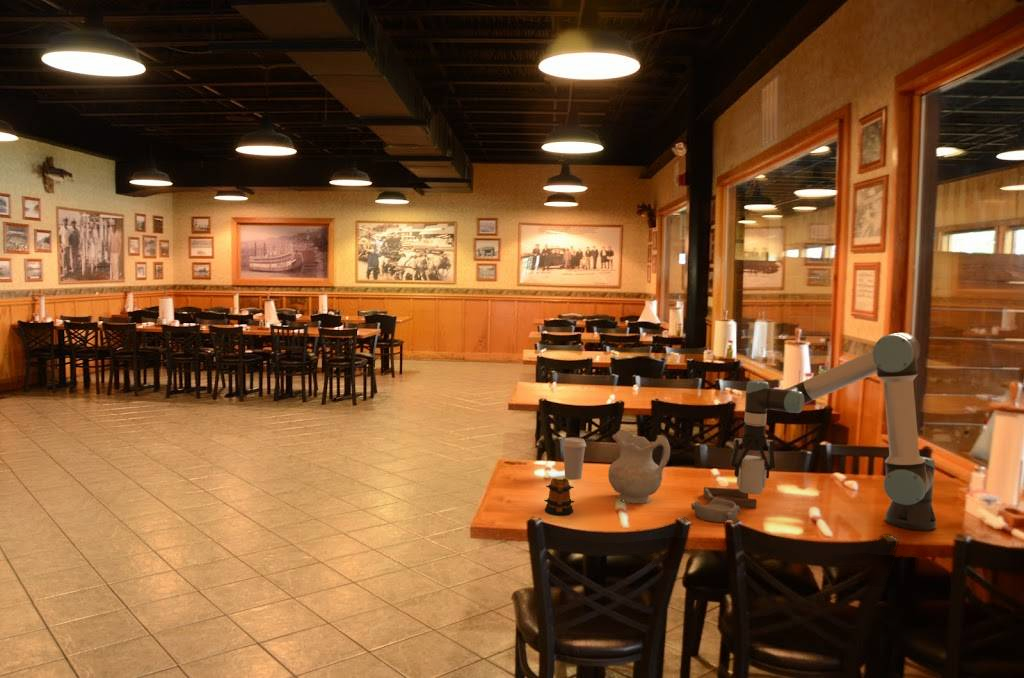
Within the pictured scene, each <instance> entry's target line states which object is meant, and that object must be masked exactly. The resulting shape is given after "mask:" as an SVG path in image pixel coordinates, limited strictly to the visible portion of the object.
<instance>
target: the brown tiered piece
mask: <svg viewBox="0 0 1024 678" xmlns="http://www.w3.org/2000/svg"><path fill="white" fill-rule="evenodd" d="M545 487H546V488H548V489H549V493H548V497H547V499H544V502H546V505H545V507H544V512H545V514H548V515H550V516H556V517H565V516H567V517H568V516H571V515H573V514H574V508H573V506H572V503H575V501H574V500H572V499H571V492H570V491H571V490H572V489H574V488H575V487H574V486H571V485H570V481H569V479H568V478H562V479H561V478H560V479H558V478H555V477H553V478H551V481H550V484H548V485H545Z"/></svg>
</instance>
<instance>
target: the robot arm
mask: <svg viewBox="0 0 1024 678" xmlns="http://www.w3.org/2000/svg"><path fill="white" fill-rule="evenodd" d="M920 354H921V345H920V343H919V341H918V340H917V339H916V338H915V336H913V335H911V334H910V333H907V332H894V333H890V334H886V335H884V336H882V337H880V338H878V340H877V342H875V344H874V346H872V347H871V349H870V351H868V352H865V353H863V354H861V355H858V356H857V357H854V358H851V359H850V360H848V361H846V362H844V363H841V364H839V365H836V366H834V367H832V368H831V369H830V368H829V369H828V370H826V371H824V372H821V373H819V374H817V375H814V376H813V377H811V378H808V379H806V380H804V381H802V382H799V383H797V384H795V385H793V386H791V387H787V388H784V389H783V388H781V389H779V388H772V387H770V385H769V382H768V381H764V380H757V379H756V380H755V379H753V380H749V381H747V382H746V389H745V390H746V391H745V406H744V418H743V419H744V420H743V422H744V424H743V432H742V434H743V435H742V437H741V438H737V437H734V438H733V443H734V444H733V449H732V452H731V456H730V461H729V465H730V466H731V467H734V476H735V477H736V486H737V487H738V488H739V487H740V484H741V468H740V465H741V463H742V459H744V458H745V456H747V455H748V453H749V451H754V450H755V451H757V452H759V455H760V456H759V457H761V458H762V459H763V460H765V462H764V477H763V489H766V485H767V483H766V482H767V479H769V478H770V470H772V469H775V468H776V464H775V455H774V453H775V452H774V444H775V442H774V441H773V439H767V438H766V433H767V432H766V430H767V425H766V424H767V417H768V416H767V415H768V414H767V413H768V410H772V411H779V412H784V413H785V412H786V413H789V414H792V413H795V414H799V413H801V412H802V411H803V409H804V407H805V405H806V404H809V403H810V402H814V401H815V400H817V399H819V398H822V397H824V396H827V395H829V394H831V393H834V392H836V391H839V390H841V389H843V388H846V387H847V386H851V385H852V384H854V383H858V382H860V381H862V380H864V379H866V378H869V377H871V376H873V375H875V374H876V375H877V378H879V379H878V380H880V381H882V382H883V383H882V385H883V395H884V406H885V407H884V409H885V418H886V430H887V431H886V432H887V441H888V453H889V455H888V456H887V458H886V459H885V460H884V467H885V478H884V481H883V489H884V491H885V494H886V496H887V497H888V498H889V499H891V501H890V503H889V506H888V508H887V511H886V512H885V521H886V522H887V523H889V524H890V525H893V526H895V527H899V528H903V529H906V530H907V529H908V530H912V529H915V530H914V531H932V530H931V529H933V530H935V529H936V528H937V519H936V518H937V517H936V514H935V511H934V510H935V509H934V508H933V494H934V493H933V491H934V483H935V482H934V478H935V470H936V461H935V460H934V459H932V458H931V457H926V456H921V455H920V446H919V434H918V433H919V432H918V423H917V413H916V400H915V390H914V380H915V378H916V377H917V376H918V375H919V374H918V372H919V371H918V359H919V357H920ZM742 443H743V444H744V445H743V447H742V450H741V452H740V454H739V456H738V453H739V449H740V445H741V444H742ZM765 444H766V446H767V451H768V459H769V462H768V459H767V456H766V453H765V452H764V448H763V447H764V445H765ZM934 528H935V529H934Z"/></svg>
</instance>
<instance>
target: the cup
mask: <svg viewBox="0 0 1024 678" xmlns="http://www.w3.org/2000/svg"><path fill="white" fill-rule="evenodd" d="M764 462H765V460H763V459H762V458H761V456H757V455H748V454H746V456H745V458H744V459H742V463H741V465H740V468H741V484H740V487H738V489H739V491H741V492H743V493H747V494H748V495H761V494H763V491H764V488H763V477H764V468H765V466H764Z"/></svg>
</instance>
